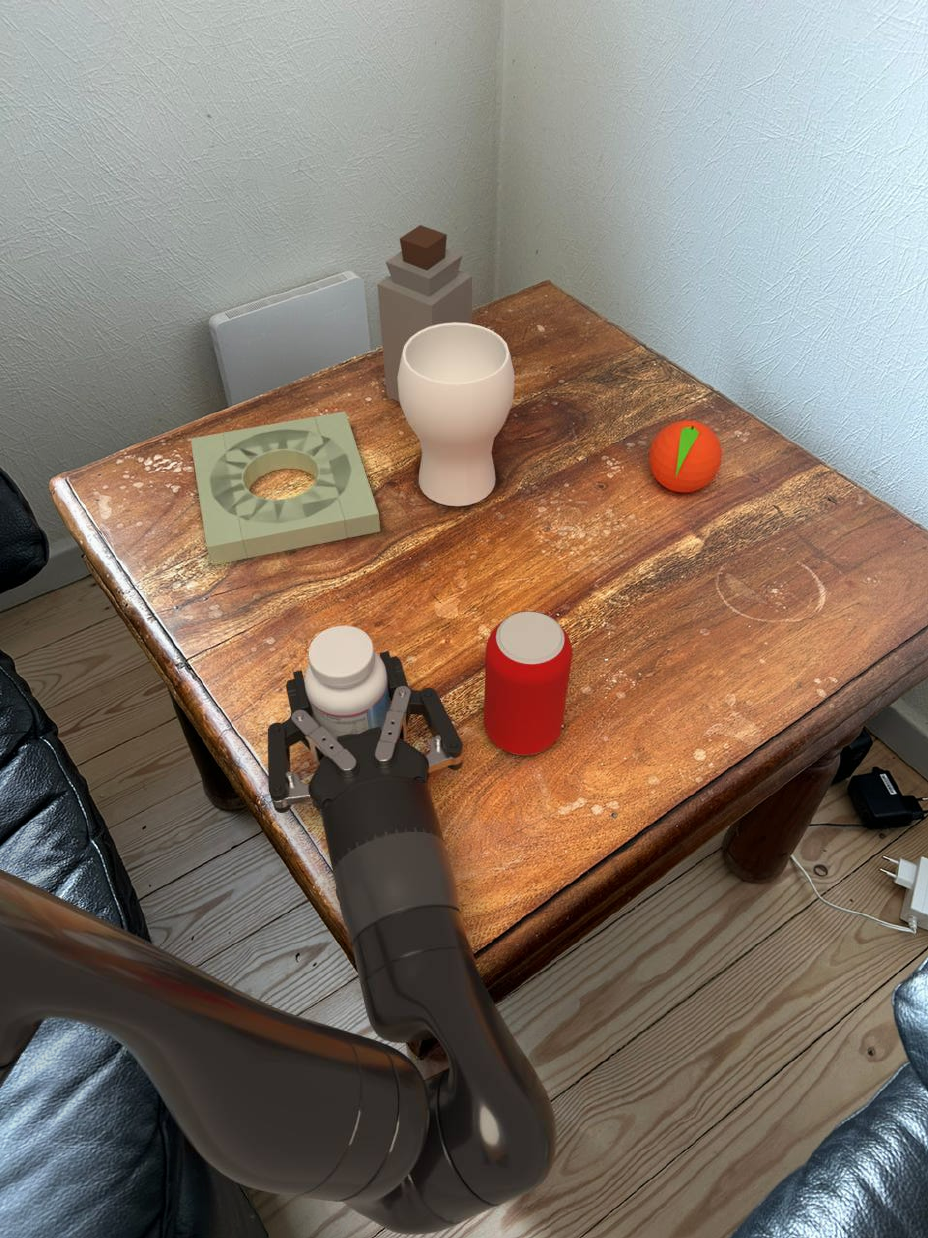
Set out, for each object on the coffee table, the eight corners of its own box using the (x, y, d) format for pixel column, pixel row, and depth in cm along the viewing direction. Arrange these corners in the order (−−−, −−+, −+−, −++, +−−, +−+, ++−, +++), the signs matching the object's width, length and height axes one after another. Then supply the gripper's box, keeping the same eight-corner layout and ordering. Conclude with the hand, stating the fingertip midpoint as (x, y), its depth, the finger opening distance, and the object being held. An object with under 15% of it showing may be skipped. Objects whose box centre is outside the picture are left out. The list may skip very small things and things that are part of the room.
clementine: (703, 521, 89) (718, 465, 83) (633, 503, 90) (644, 446, 85) (720, 470, 94) (736, 413, 88) (653, 453, 95) (665, 397, 90)
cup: (506, 445, 96) (512, 317, 85) (513, 516, 89) (520, 387, 78) (405, 447, 96) (396, 319, 84) (403, 518, 89) (394, 389, 78)
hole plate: (212, 565, 85) (206, 546, 83) (195, 457, 95) (190, 438, 93) (380, 531, 88) (378, 512, 86) (347, 429, 98) (345, 410, 96)
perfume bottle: (423, 366, 105) (417, 212, 91) (471, 387, 103) (472, 232, 89) (386, 396, 102) (373, 240, 88) (435, 418, 99) (430, 261, 85)
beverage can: (570, 754, 72) (585, 661, 63) (493, 768, 71) (497, 677, 62) (549, 691, 76) (561, 596, 67) (476, 704, 75) (477, 609, 66)
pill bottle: (359, 692, 76) (346, 603, 67) (409, 737, 73) (402, 650, 65) (301, 736, 73) (280, 648, 65) (351, 784, 70) (335, 699, 62)
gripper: (498, 810, 58) (431, 615, 69) (271, 870, 56) (237, 658, 66) (495, 862, 64) (434, 675, 74) (290, 918, 61) (256, 716, 72)
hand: (341, 668), depth 70 cm, fingers closed on pill bottle, 6 cm apart
